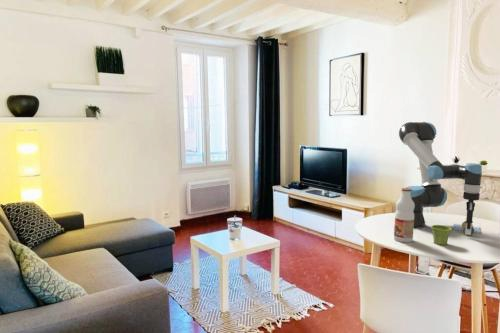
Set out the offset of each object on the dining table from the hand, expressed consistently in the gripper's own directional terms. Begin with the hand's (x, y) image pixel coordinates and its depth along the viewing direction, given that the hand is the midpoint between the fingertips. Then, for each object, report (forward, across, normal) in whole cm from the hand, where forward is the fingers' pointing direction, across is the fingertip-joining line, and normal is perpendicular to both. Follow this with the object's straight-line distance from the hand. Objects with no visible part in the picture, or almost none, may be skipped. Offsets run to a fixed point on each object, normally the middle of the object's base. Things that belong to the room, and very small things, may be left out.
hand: (467, 234), depth 204 cm
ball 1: (-1, +16, 0) cm, 16 cm away
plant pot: (+2, -19, +13) cm, 23 cm away
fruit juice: (+2, -23, +30) cm, 38 cm away
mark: (+2, +20, 0) cm, 20 cm away
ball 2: (-1, +6, 0) cm, 6 cm away
